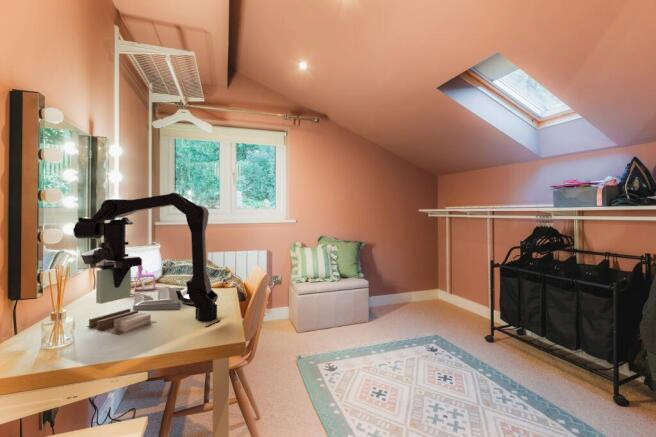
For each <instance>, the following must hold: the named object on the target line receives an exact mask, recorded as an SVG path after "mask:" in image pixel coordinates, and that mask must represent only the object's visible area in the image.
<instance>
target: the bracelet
mask: <svg viewBox="0 0 656 437" xmlns="http://www.w3.org/2000/svg"><path fill="white" fill-rule="evenodd" d="M136 282H137V283H140V284H141V285H142V289H141V291H139V292H138V293H132V292H131V296H134V297H135V296H136V295H138V294H143V292H144V290H145V283H144V282H143V281H142V280H141V279H140V278H138V279H137V277H134V278H131V284H134V283H136Z"/></svg>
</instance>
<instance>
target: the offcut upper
mask: <svg viewBox="0 0 656 437" xmlns="http://www.w3.org/2000/svg"><path fill="white" fill-rule="evenodd" d="M151 315H152V314H150V313H146V312H138V313H136V314H133V315H129V316H126V317H122V318H119V319H116V320H114V325H117V326H122V327H128V326H131V325H134V324H137V323H140V322H143V321H146V320H149V319H151Z"/></svg>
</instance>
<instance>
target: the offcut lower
mask: <svg viewBox="0 0 656 437" xmlns="http://www.w3.org/2000/svg"><path fill="white" fill-rule="evenodd" d="M151 321H152V320H151V319H149V320H146V321H143V322H140V323H137V324H134V325H131V326H128V327H122V326H117V325H114V330H117V331H121V332H127V333H129V332H128V331H130V332H132V331H131V330H133V331H135V330H134V329H136V328H139V327H142V326H145V325H148V324H151ZM151 325H152V324H151ZM148 326H149V325H148ZM145 327H146V326H145ZM142 328H143V327H142ZM139 329H140V328H139ZM136 330H137V329H136Z"/></svg>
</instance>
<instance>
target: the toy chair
mask: <svg viewBox="0 0 656 437" xmlns="http://www.w3.org/2000/svg"><path fill="white" fill-rule="evenodd" d="M143 269H144V266H143V264H142V265H140V266H137V274H138V276H137V277H136V278H137V279H138V278H139V279H140V278H150V277H151V278H153V280H154V283H153V286H152V289H153V290H155V287H156V275H155V274H154V272H149V273H142V271H143ZM137 284H138V281H137V282H135V286H134V289H133V293H134V292H136V289H137Z"/></svg>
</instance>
